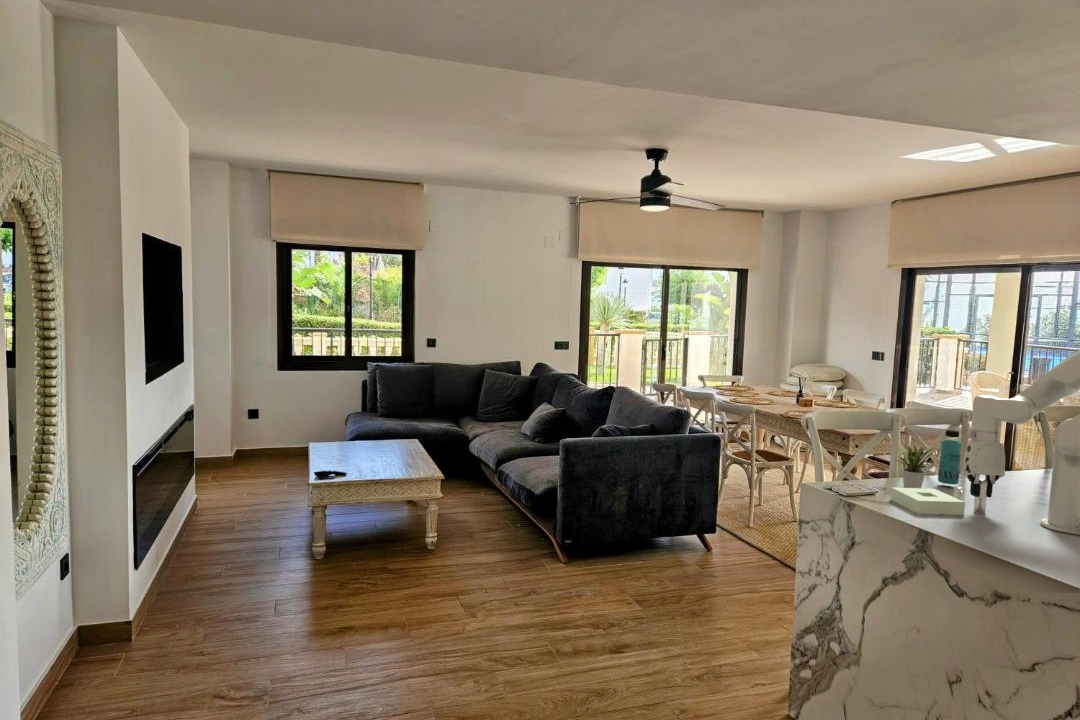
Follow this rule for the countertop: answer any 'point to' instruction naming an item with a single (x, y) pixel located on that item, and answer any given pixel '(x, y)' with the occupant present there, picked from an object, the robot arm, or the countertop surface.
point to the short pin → (959, 493)
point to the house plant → (914, 467)
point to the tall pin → (981, 497)
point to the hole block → (927, 501)
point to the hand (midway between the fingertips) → (980, 495)
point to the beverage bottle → (950, 459)
